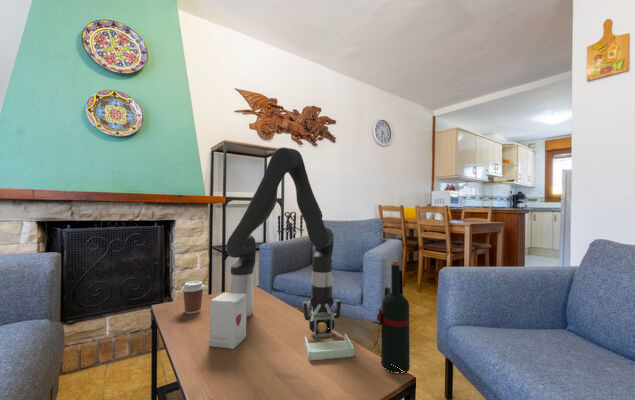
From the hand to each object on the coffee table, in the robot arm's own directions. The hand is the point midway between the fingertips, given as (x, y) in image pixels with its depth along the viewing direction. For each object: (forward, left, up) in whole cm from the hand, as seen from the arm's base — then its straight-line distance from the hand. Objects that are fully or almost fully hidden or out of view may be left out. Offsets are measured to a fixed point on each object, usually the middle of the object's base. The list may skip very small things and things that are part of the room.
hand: (321, 330), depth 101 cm
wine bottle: (+23, +16, -1) cm, 28 cm away
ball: (0, 0, +1) cm, 1 cm away
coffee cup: (-30, -51, -1) cm, 59 cm away
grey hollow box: (0, 0, -1) cm, 1 cm away
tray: (+12, 0, -1) cm, 12 cm away
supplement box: (+1, -32, -1) cm, 32 cm away
